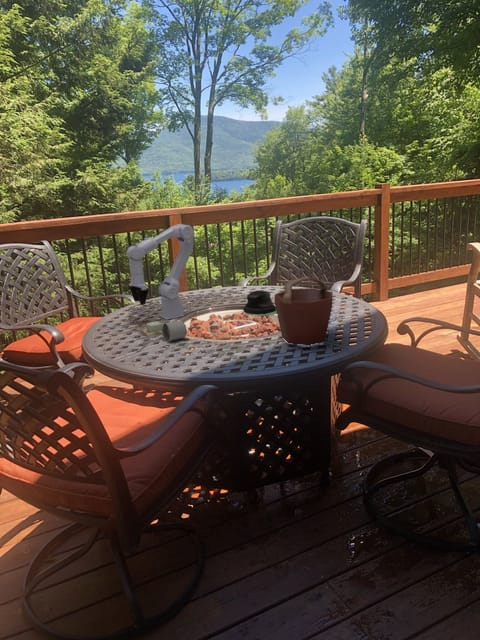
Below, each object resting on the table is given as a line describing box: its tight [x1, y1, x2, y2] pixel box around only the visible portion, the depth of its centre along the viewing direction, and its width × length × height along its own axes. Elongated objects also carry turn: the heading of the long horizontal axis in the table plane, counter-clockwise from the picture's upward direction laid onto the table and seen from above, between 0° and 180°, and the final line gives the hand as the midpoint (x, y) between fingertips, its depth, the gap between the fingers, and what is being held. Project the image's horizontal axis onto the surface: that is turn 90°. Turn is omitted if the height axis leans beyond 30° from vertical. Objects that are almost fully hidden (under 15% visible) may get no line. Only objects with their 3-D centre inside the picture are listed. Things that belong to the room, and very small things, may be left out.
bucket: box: [274, 276, 333, 345], centre depth 188 cm, size 24×22×25 cm
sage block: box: [145, 321, 163, 333], centre depth 208 cm, size 5×5×4 cm
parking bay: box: [137, 327, 163, 338], centre depth 209 cm, size 10×12×1 cm
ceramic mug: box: [162, 320, 188, 343], centre depth 199 cm, size 11×8×8 cm
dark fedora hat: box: [242, 290, 277, 317], centre depth 234 cm, size 20×20×9 cm
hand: (139, 302), depth 220 cm, fingers open, 7 cm apart
